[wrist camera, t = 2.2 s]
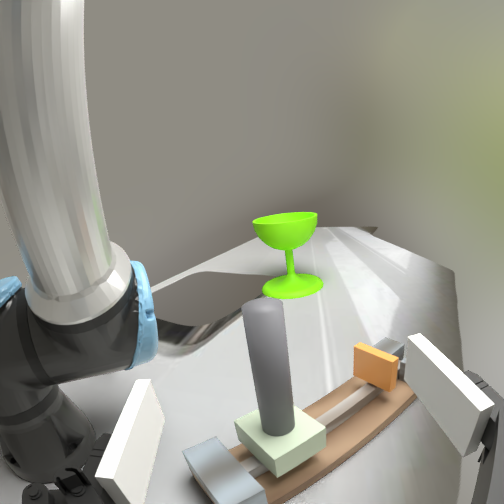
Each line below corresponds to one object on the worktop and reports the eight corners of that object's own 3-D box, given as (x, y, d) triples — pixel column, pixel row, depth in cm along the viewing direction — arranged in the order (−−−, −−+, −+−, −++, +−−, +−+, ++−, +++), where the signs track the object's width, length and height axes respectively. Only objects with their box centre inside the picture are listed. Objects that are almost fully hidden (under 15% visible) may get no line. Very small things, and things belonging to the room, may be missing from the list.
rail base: (192, 475, 29) (182, 451, 28) (384, 362, 45) (385, 337, 44) (234, 529, 21) (224, 509, 20) (432, 381, 37) (436, 355, 36)
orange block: (353, 375, 38) (353, 346, 37) (377, 357, 41) (379, 329, 40) (389, 392, 33) (392, 362, 32) (412, 371, 36) (416, 342, 35)
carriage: (238, 439, 30) (208, 305, 26) (283, 415, 33) (267, 285, 29) (277, 477, 24) (254, 334, 20) (326, 446, 27) (321, 304, 23)
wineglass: (332, 291, 76) (326, 216, 72) (266, 303, 75) (256, 227, 71) (313, 272, 92) (307, 210, 87) (258, 282, 90) (249, 218, 86)
